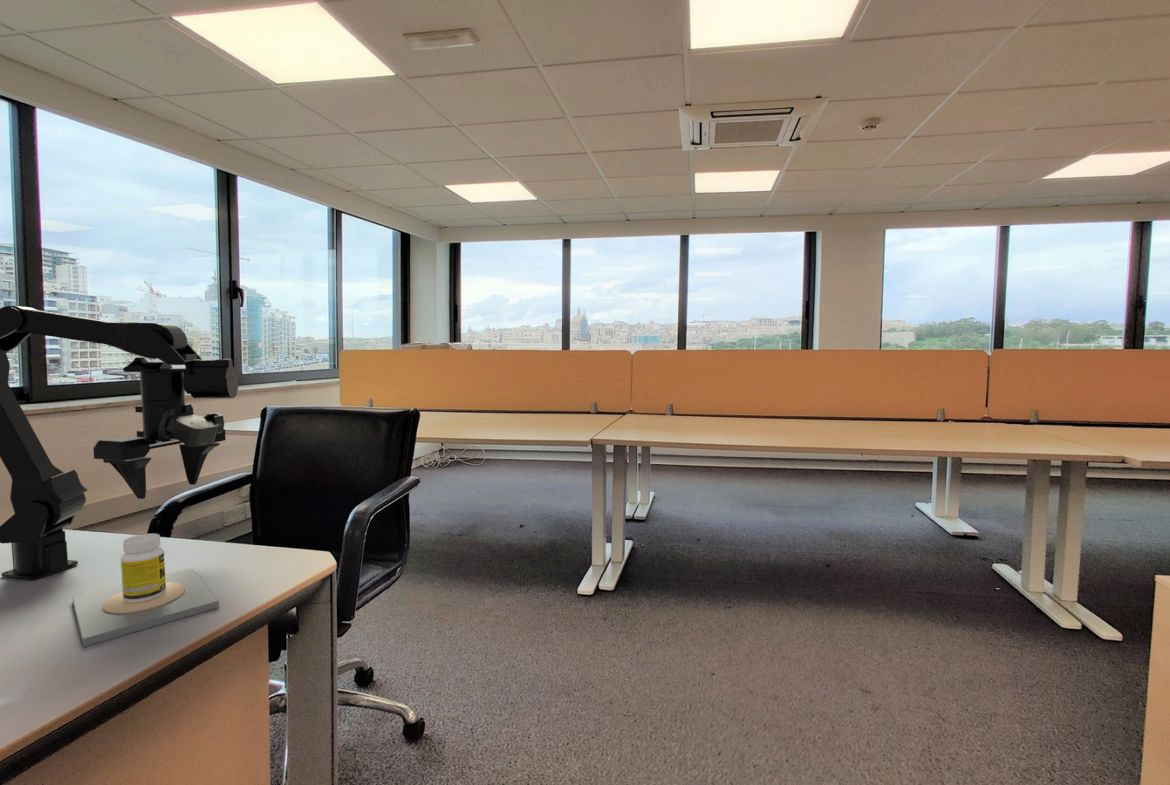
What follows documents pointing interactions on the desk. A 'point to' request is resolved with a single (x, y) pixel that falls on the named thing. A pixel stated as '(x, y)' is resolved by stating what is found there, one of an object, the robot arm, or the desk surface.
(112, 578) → the desk surface
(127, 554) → the supplement bottle
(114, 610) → the slate board
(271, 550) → the desk surface
